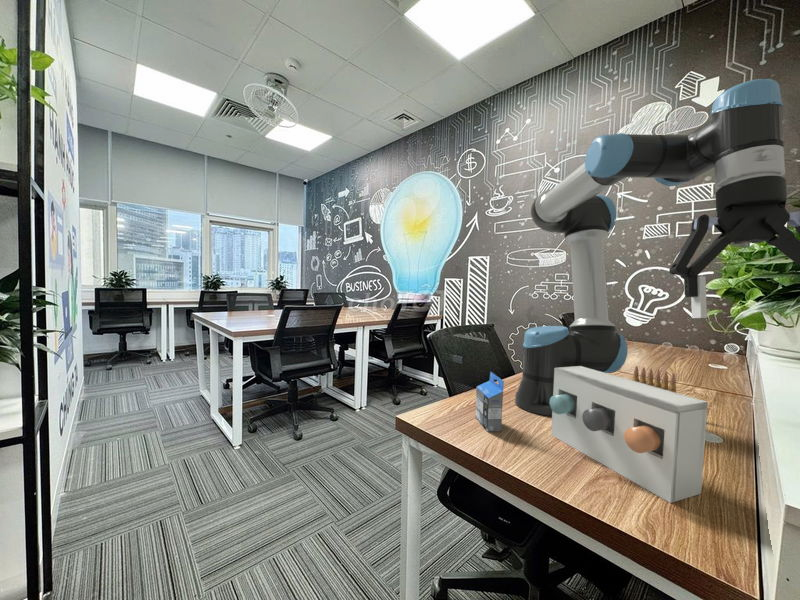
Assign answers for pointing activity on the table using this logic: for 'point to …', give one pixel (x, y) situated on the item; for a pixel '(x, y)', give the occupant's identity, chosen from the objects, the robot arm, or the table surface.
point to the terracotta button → (642, 439)
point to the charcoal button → (597, 419)
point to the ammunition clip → (657, 379)
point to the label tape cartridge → (490, 403)
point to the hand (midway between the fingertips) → (754, 319)
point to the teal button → (562, 404)
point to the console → (631, 407)
